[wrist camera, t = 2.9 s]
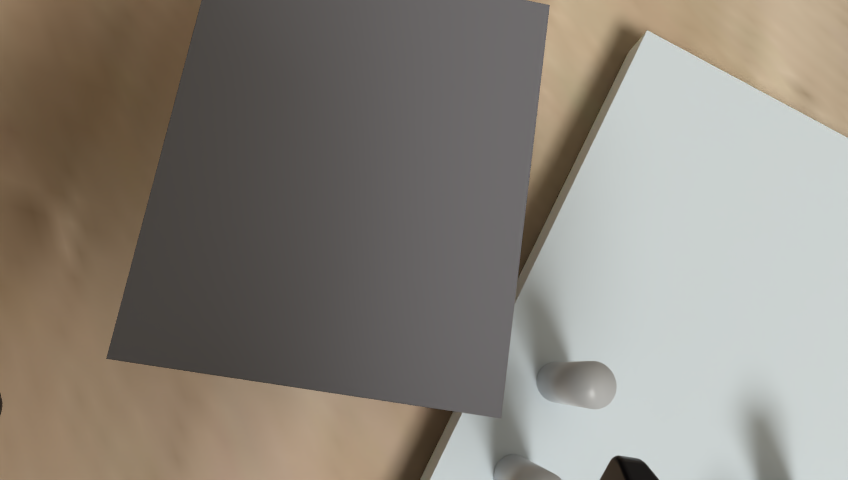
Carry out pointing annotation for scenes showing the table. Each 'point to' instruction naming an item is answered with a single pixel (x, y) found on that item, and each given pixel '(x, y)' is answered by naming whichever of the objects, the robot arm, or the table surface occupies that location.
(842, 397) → the pin dock
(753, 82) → the table surface
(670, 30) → the table surface
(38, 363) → the table surface
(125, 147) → the table surface
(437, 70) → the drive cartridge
